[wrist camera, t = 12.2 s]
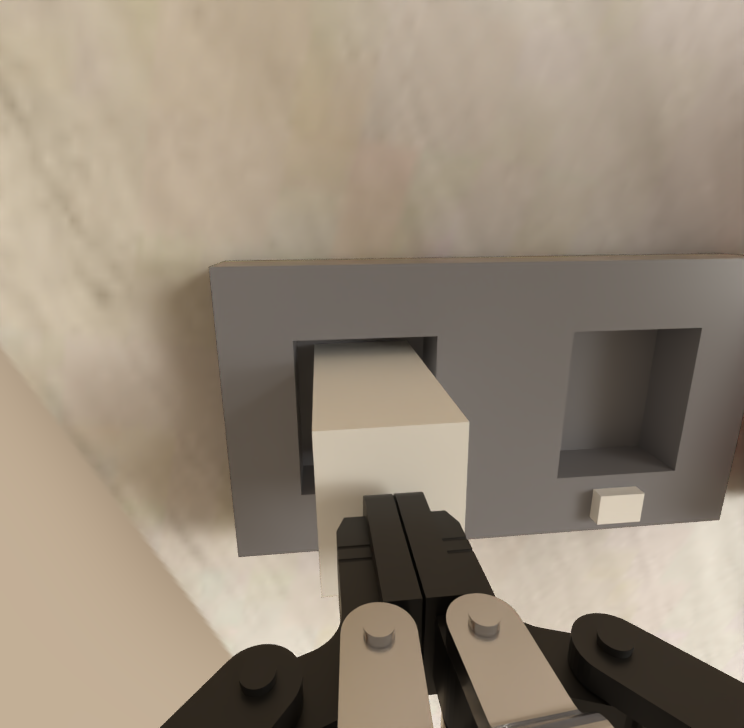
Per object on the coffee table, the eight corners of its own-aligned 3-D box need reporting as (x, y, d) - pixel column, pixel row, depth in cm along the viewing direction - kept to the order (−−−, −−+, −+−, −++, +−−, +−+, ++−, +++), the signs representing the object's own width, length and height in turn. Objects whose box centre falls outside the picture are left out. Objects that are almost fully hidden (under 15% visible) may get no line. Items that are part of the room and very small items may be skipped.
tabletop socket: (718, 253, 22) (793, 258, 18) (673, 486, 25) (729, 527, 22) (224, 260, 19) (204, 268, 16) (248, 515, 23) (236, 566, 19)
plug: (406, 340, 21) (469, 421, 12) (406, 475, 23) (460, 628, 14) (314, 344, 20) (311, 431, 12) (321, 481, 22) (324, 643, 14)
